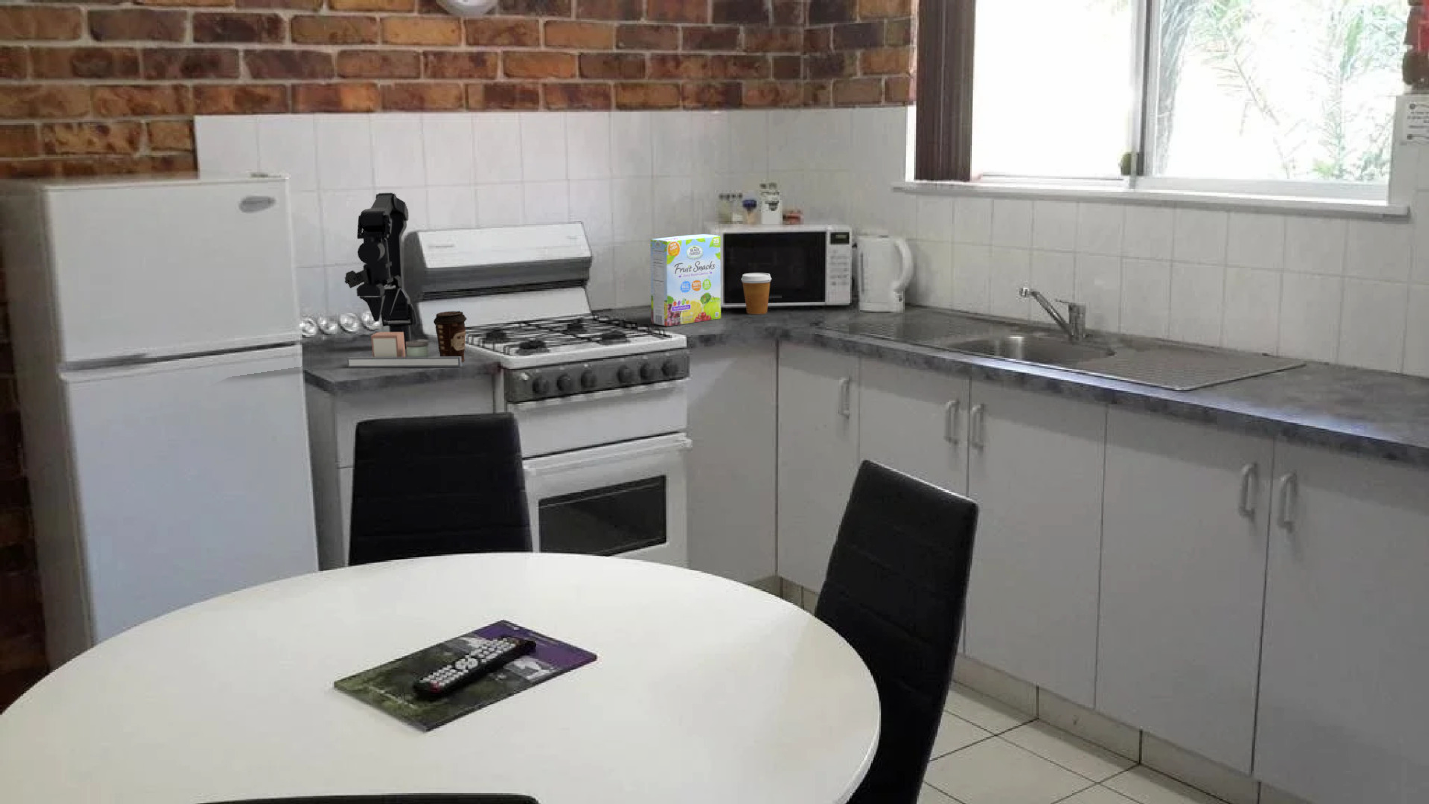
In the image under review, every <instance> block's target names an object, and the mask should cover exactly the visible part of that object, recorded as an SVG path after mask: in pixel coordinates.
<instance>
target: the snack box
mask: <svg viewBox="0 0 1429 804" xmlns="http://www.w3.org/2000/svg"><path fill="white" fill-rule="evenodd" d="M721 239H722V238H721V236H720V235H717V234H706V233H703V234H689V235H677V236H676V235H675V236H670V237H660V238H651V239H650V304H651V305H650V308H651V309H650V310H651V311H650V315H651V324H653V325H659V326H663V327H671V326H672V327H673V326H679V325H687V324H693V323H699V322H701V323H702V322H706V321H713V320H719V319H720V320H721V319H722V302H721V301H722V300H721V299H722V295H721V294H722V293H721V292H722V291H721V290H722V289H721V285H722V282H721V281H722V279H721V277H722V276H721V273H722V271H721V264H722V263H721V259H722V258H721V257H722V255H721V254H722V253H721V243H722V241H721Z"/></svg>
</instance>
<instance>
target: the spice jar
mask: <svg viewBox="0 0 1429 804" xmlns="http://www.w3.org/2000/svg"><path fill="white" fill-rule="evenodd" d="M429 344H430V343H429V340H428V339H411V340H410V341H406V348H405V349H406V357H430V350H429V349H430V348H429Z"/></svg>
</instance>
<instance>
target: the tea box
mask: <svg viewBox="0 0 1429 804" xmlns="http://www.w3.org/2000/svg"><path fill="white" fill-rule="evenodd" d="M370 338H371V351H372V357H406V348H405V344H404V332H389V331H381V332H379V331H377V332H376V333H374V334H372V335H370Z"/></svg>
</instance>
